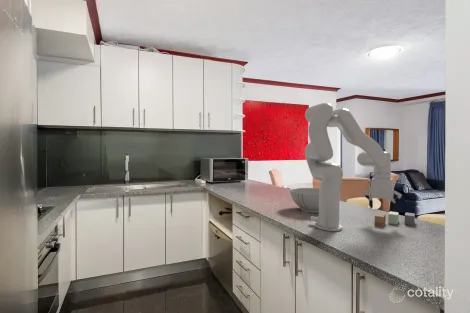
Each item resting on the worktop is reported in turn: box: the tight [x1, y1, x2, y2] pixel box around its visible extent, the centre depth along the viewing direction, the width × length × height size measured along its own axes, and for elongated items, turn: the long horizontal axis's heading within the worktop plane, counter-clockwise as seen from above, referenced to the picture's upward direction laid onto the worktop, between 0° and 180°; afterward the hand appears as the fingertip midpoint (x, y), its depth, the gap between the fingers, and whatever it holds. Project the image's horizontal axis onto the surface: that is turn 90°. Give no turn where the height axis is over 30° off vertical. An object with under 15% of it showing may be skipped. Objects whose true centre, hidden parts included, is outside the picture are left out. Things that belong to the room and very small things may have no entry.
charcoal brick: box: [403, 212, 416, 226], centre depth 138 cm, size 7×4×5 cm, turn 143°
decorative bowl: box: [289, 187, 320, 214], centre depth 164 cm, size 27×27×12 cm
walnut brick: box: [374, 212, 386, 227], centre depth 135 cm, size 7×4×5 cm, turn 143°
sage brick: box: [387, 210, 400, 225], centre depth 139 cm, size 7×4×5 cm, turn 143°
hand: (381, 209), depth 135 cm, fingers open, 9 cm apart
